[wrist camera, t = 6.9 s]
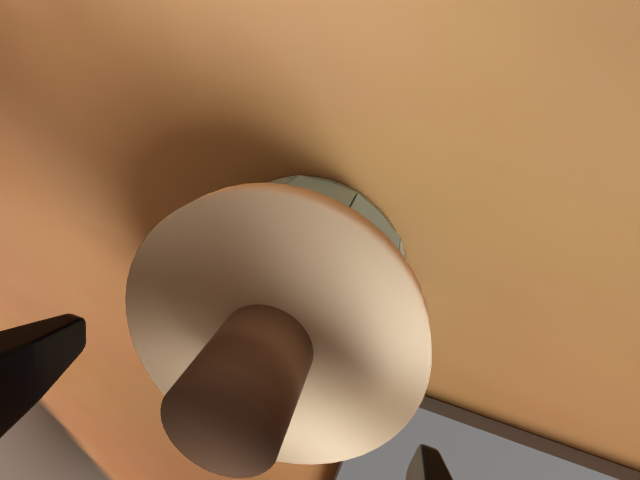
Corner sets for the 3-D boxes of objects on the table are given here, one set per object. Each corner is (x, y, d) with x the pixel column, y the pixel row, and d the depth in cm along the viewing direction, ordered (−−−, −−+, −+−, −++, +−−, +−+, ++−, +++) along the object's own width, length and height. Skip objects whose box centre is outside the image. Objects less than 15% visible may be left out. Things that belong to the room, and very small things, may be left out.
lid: (378, 473, 13) (365, 619, 10) (142, 385, 14) (49, 486, 11) (481, 239, 9) (524, 330, 6) (152, 144, 11) (16, 171, 7)
